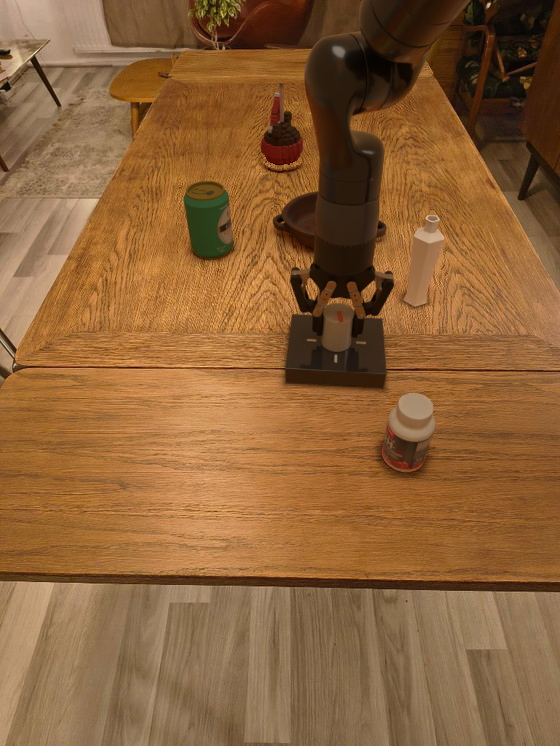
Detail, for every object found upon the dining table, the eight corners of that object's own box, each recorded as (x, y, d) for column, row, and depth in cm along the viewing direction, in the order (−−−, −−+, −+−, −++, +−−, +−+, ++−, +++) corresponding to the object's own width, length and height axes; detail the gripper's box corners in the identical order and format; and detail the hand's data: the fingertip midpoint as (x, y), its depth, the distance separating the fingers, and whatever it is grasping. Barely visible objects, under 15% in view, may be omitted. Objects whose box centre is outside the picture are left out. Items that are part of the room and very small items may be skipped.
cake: (294, 176, 120) (294, 92, 107) (256, 171, 122) (252, 88, 109) (307, 158, 127) (309, 77, 114) (271, 153, 129) (269, 73, 116)
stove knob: (319, 332, 77) (320, 301, 73) (348, 330, 77) (351, 300, 73) (323, 353, 74) (325, 322, 70) (353, 351, 74) (357, 319, 70)
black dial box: (380, 332, 81) (382, 317, 79) (383, 388, 73) (386, 373, 71) (291, 328, 82) (291, 312, 80) (285, 383, 74) (285, 367, 72)
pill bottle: (372, 455, 65) (382, 404, 58) (398, 431, 67) (411, 380, 60) (407, 481, 62) (421, 431, 55) (433, 456, 65) (450, 405, 58)
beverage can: (222, 264, 95) (216, 203, 87) (184, 256, 97) (174, 196, 89) (240, 242, 100) (235, 183, 92) (203, 235, 102) (195, 176, 94)
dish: (278, 209, 109) (278, 187, 105) (384, 214, 107) (387, 191, 103) (267, 255, 97) (266, 231, 93) (385, 261, 95) (389, 237, 91)
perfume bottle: (397, 292, 88) (412, 211, 78) (422, 290, 89) (440, 209, 78) (405, 308, 85) (421, 227, 74) (430, 306, 85) (450, 225, 75)
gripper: (284, 241, 60) (285, 348, 72) (408, 245, 59) (388, 353, 71) (289, 209, 65) (289, 314, 77) (403, 212, 64) (385, 318, 76)
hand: (337, 332), depth 74 cm, fingers closed on stove knob, 4 cm apart
